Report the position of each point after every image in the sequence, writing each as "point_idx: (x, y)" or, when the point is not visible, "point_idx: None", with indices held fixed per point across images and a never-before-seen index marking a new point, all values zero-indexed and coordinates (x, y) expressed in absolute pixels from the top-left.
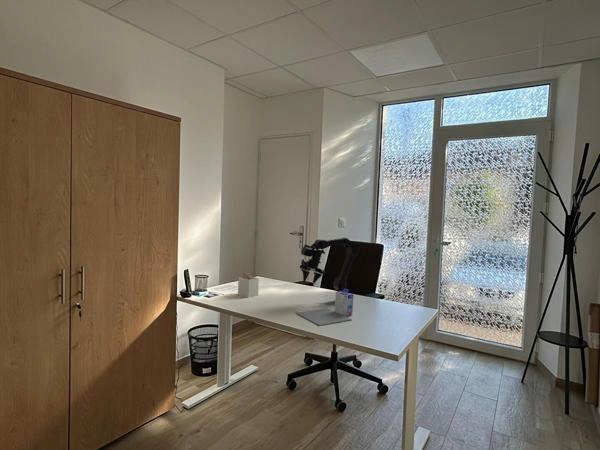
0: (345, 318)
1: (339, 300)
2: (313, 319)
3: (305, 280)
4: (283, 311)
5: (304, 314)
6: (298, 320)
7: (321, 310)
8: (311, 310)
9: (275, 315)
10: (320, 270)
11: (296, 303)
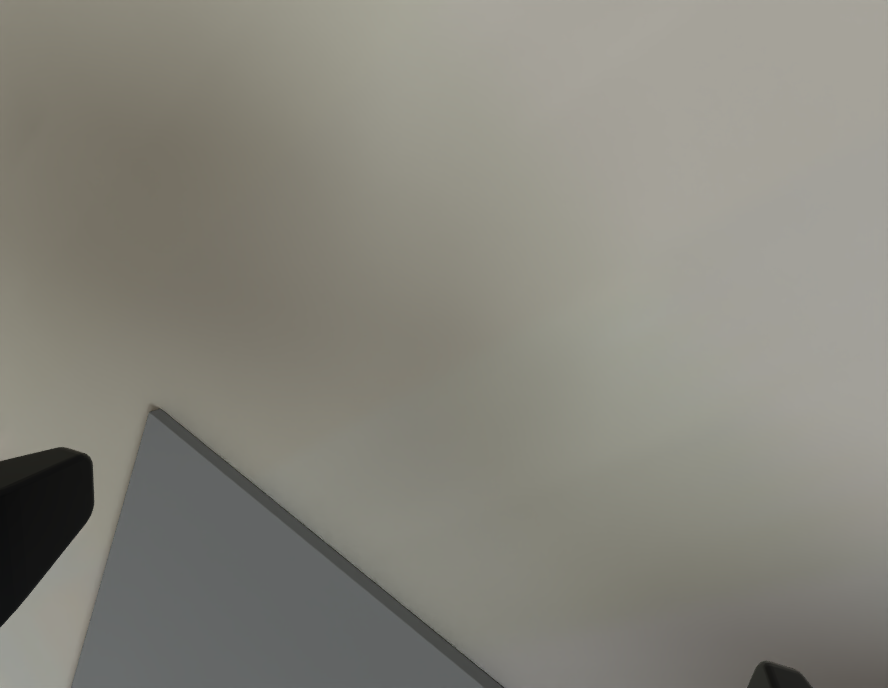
0: None
1: None
2: (111, 673)
3: (46, 566)
4: (127, 230)
5: (158, 537)
6: None
7: None
8: (321, 568)
9: (3, 244)
10: None
11: (558, 124)
